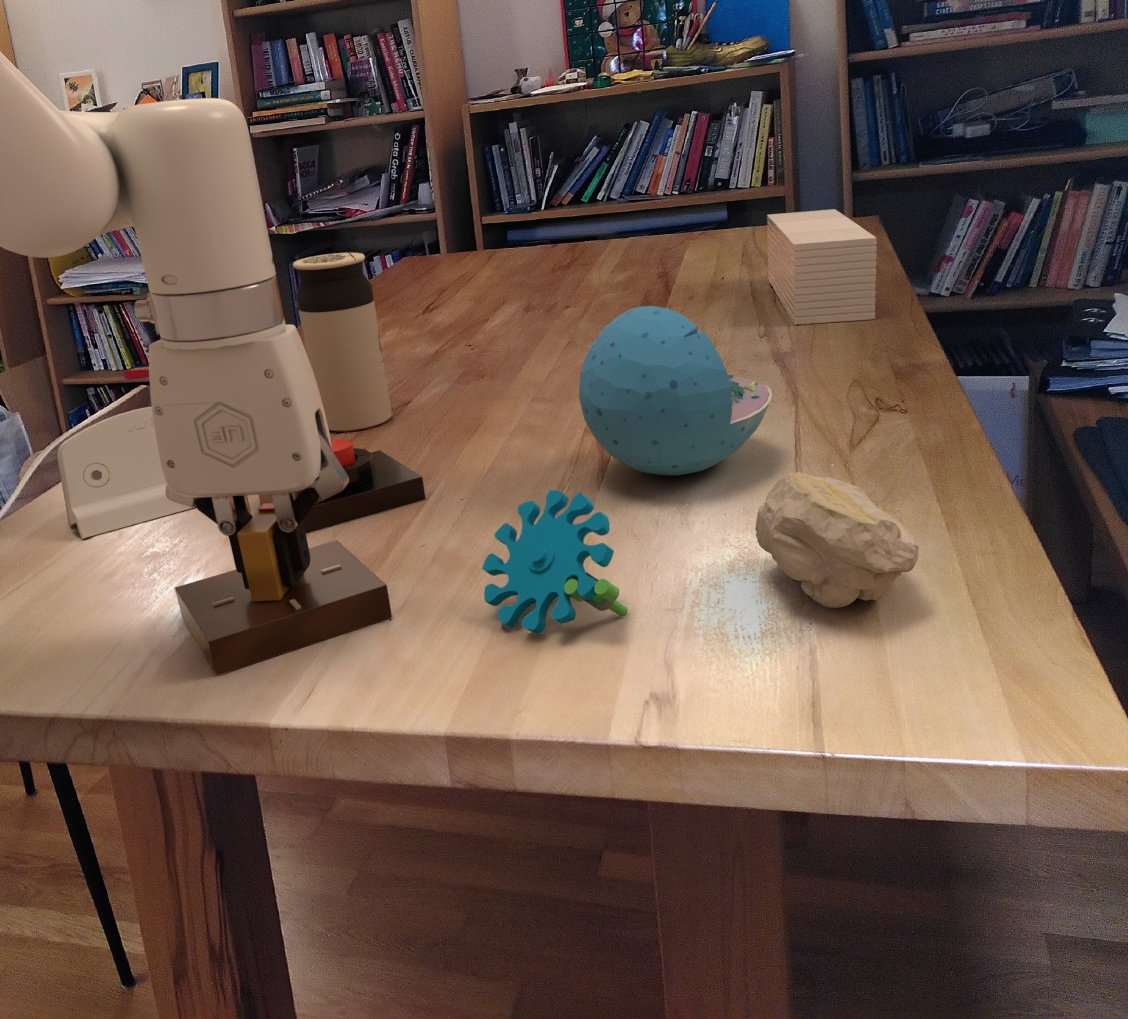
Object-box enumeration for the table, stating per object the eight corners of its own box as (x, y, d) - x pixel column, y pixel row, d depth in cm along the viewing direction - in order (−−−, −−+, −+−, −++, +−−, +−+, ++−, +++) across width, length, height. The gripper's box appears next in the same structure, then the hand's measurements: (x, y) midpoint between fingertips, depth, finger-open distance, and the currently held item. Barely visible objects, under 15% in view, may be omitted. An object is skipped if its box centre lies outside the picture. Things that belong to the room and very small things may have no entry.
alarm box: (293, 537, 86) (284, 492, 85) (260, 504, 94) (251, 462, 93) (426, 499, 92) (419, 457, 90) (383, 471, 100) (377, 431, 98)
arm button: (322, 474, 89) (318, 455, 89) (309, 464, 92) (305, 445, 92) (361, 464, 91) (358, 445, 90) (347, 454, 94) (344, 435, 93)
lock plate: (216, 676, 66) (207, 639, 65) (182, 618, 74) (173, 585, 73) (392, 617, 71) (386, 582, 70) (342, 569, 79) (336, 537, 78)
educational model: (812, 450, 95) (812, 284, 89) (682, 519, 83) (672, 332, 77) (677, 424, 105) (669, 274, 99) (544, 482, 93) (527, 315, 88)
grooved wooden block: (874, 319, 140) (876, 237, 136) (794, 325, 141) (793, 243, 137) (834, 277, 169) (835, 208, 165) (768, 282, 170) (767, 214, 166)
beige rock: (819, 542, 77) (720, 596, 72) (806, 436, 74) (701, 485, 69) (961, 582, 67) (858, 648, 62) (952, 462, 64) (843, 521, 59)
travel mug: (318, 437, 112) (286, 268, 105) (322, 416, 119) (293, 257, 113) (392, 427, 113) (366, 259, 106) (392, 407, 120) (367, 249, 114)
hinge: (78, 539, 90) (41, 427, 89) (73, 541, 94) (38, 434, 93) (265, 487, 98) (233, 384, 97) (253, 491, 102) (222, 392, 101)
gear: (452, 586, 71) (533, 464, 72) (503, 615, 75) (579, 500, 76) (551, 662, 63) (641, 525, 64) (602, 690, 68) (686, 562, 68)
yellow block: (280, 600, 69) (265, 528, 67) (251, 601, 70) (235, 530, 68) (303, 569, 74) (289, 501, 72) (276, 570, 74) (262, 502, 72)
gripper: (68, 335, 62) (142, 609, 69) (326, 317, 60) (375, 600, 67) (127, 309, 69) (189, 561, 76) (360, 292, 67) (402, 551, 74)
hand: (276, 577), depth 72 cm, fingers closed on yellow block, 2 cm apart
